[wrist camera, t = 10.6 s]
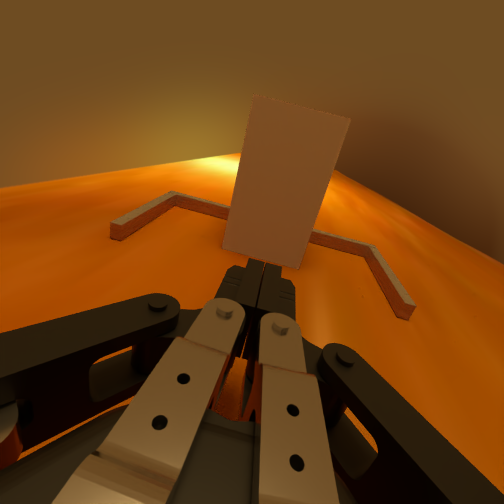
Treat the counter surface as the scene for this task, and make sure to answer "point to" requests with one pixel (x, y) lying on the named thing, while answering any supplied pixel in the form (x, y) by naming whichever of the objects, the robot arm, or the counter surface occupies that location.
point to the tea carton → (282, 179)
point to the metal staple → (376, 262)
